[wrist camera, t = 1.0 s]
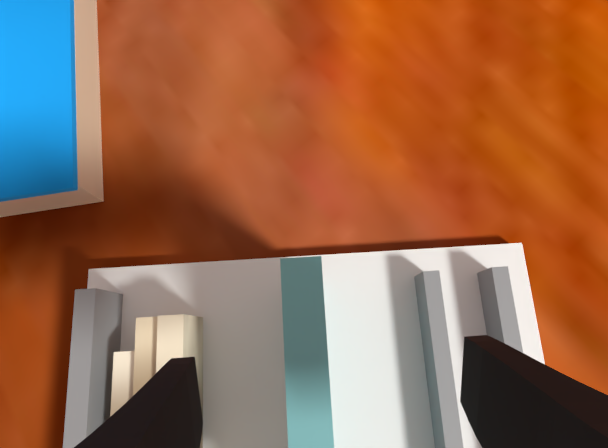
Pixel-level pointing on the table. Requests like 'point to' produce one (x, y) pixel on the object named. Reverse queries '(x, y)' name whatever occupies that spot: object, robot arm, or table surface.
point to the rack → (340, 341)
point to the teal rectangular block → (306, 354)
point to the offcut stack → (156, 354)
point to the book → (49, 106)
